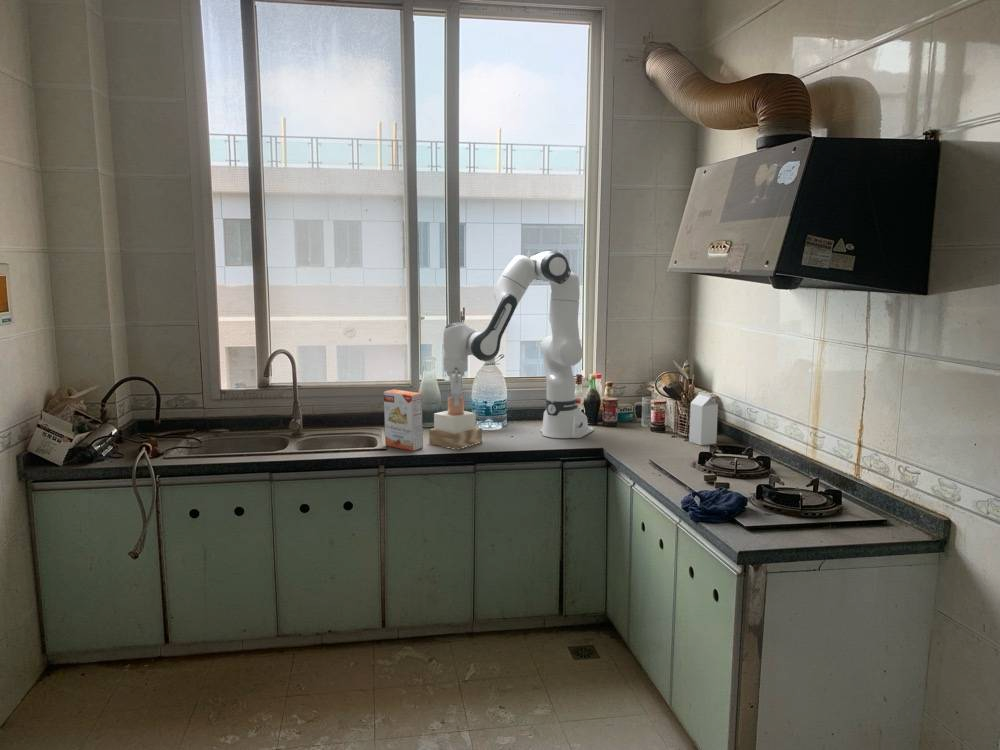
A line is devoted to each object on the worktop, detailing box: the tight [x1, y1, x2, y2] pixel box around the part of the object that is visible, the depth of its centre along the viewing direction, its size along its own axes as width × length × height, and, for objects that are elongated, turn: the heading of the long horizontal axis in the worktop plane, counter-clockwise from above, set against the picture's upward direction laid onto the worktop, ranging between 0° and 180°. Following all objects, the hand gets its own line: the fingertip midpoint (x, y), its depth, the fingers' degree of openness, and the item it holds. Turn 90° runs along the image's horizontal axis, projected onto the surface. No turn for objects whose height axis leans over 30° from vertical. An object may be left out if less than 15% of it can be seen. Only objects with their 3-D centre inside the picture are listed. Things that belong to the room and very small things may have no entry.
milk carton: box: [688, 391, 719, 446], centre depth 276 cm, size 7×7×19 cm
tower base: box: [428, 426, 483, 449], centre depth 278 cm, size 14×14×6 cm
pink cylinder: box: [447, 395, 465, 415], centre depth 276 cm, size 6×6×6 cm
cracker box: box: [383, 389, 424, 452], centre depth 272 cm, size 14×6×21 cm, turn 54°
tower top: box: [433, 410, 477, 434], centre depth 277 cm, size 11×11×6 cm
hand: (456, 402), depth 276 cm, fingers open, 8 cm apart
